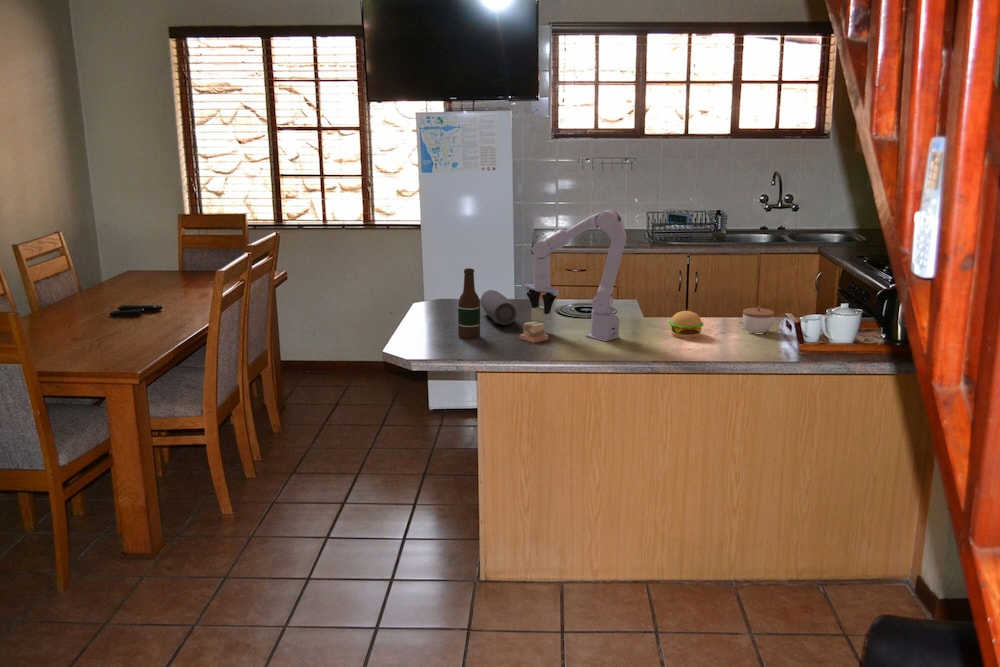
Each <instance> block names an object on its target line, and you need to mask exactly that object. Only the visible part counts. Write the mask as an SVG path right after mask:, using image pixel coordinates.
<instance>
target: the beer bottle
mask: <svg viewBox="0 0 1000 667" xmlns="http://www.w3.org/2000/svg"><path fill="white" fill-rule="evenodd" d="M463 273H464V277H463V289H462V293H461V295H460V296H459V299H458V305H457V306H458V307H457V314H458V315H457V316H458V317H457V318H458V319H457V320H458V321H457V328H458V330H457V332H458V333H457V334H458V338H460V339H462V338H463V339H462V340H475V339H479V337H480V336H481V298H479V295H478V293H477V292H476V288H475V287H476V286H475V269H474V268H471V267H470V268H464V270H463Z"/></svg>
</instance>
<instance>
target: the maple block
mask: <svg viewBox="0 0 1000 667" xmlns="http://www.w3.org/2000/svg"><path fill="white" fill-rule="evenodd" d="M523 334H524V335H527V336H530V337H538V336H542V335H544V334H545V323H543V322H540V321H536V320H532V321H530V322H524V323H523Z"/></svg>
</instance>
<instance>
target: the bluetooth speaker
mask: <svg viewBox="0 0 1000 667" xmlns="http://www.w3.org/2000/svg"><path fill="white" fill-rule="evenodd" d="M480 306H481V307H482V309H483V310H484V312H486V314H487V316H488V317H490V318H491V320H492V321H493V322H494V323H495V324H498V325H503V326H504V325H510V324H512V323H513V322H514V321H515V319H516V318H517V310H516V309H517V308H516V307H515V306H514V304H513V303H512V301H511V300H509V299H508V298H507V297H506V296H505V295H503V294H502V293H500V292H499V291H496V290H495V289H493V290H492V289H489V290H486V291H484V293H483V294H482V295H481V296H480Z"/></svg>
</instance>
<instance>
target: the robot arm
mask: <svg viewBox="0 0 1000 667" xmlns="http://www.w3.org/2000/svg"><path fill="white" fill-rule="evenodd" d="M590 229H592V230H593V229H594V230H597V229H600V230H602V232H604V233H605V234H606V235H607V236H608V238H609V240H610V241H611V242H610V246H609V248H608V252H607V256H606V261H605V263H604V267H603V268H604V269H603V271H602V272H603V273H602V276H601V278H600V283H599V286H598V289H597V291H596V295H595V296H594V297H593V299H592V301H591V308H592V309H591V320H590V321H591V322H590V323H591V324H590V326H591V328H590V333H588V334H587V333H586V334H585V336H586V337H588V338H593V339H595V340H599V341H603V342H609V341H612V340H614V339H619V338H621V336H620V318H619V316H618V315H616V314H614V312H613V309H612V308H611V306H612V305H613V302H614V296H613V292H614V286H615V282H616V278H617V274H618V270H619V267H620V264H621V260H622V257H623V256H622V255H623V252H624V248H625V245H626V241H627V234H626V230H625V226H624V224H623V220H622V217H621V215H620V214H619V213H618V212H617V210H615V209H613V208H607V209H604V210H603V211H601V212H600V211H599V212H598V213H594V214H592V215H590V216H588V217H587V218H584V219H583V220H582V221H579V222H578V223H576V224H574V225H573V226H571V227H569V228H568V229H564V228H560V229H559V228H557V229H554V230H553V233H551V234H549V235H546V236H545V235H544V236H543V237H542V238H541V239H540V240H538V241H536V242H535V243H534V244H533V246H532V248H531V252H532V254H533V283H526V284H524V290H525V291H527V292H526V295H527V298H528V299H529V302H530V305H531V309H532V308H535V307H540V306H539V305H540V298H541V297H542V302H543V307H544V313H545V314H550V311H551V312H552V310H551V309H552V307H553V304H554V302H555V300H556V298H557V296H559V295H560V289H559V288H555V287H552V285H550V284H551V261H550V259H551V258H550V257H551V255H550V254H551V253H555V252H556V251H558V250H559V249H561V248H563V247H565V246H567V245H569V244H570V241H571V239H572V238H574V237H575V236H577V235H579V234H581V233H584V232H586V231H587V230H590ZM541 293H543V294H542V295H541Z"/></svg>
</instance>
